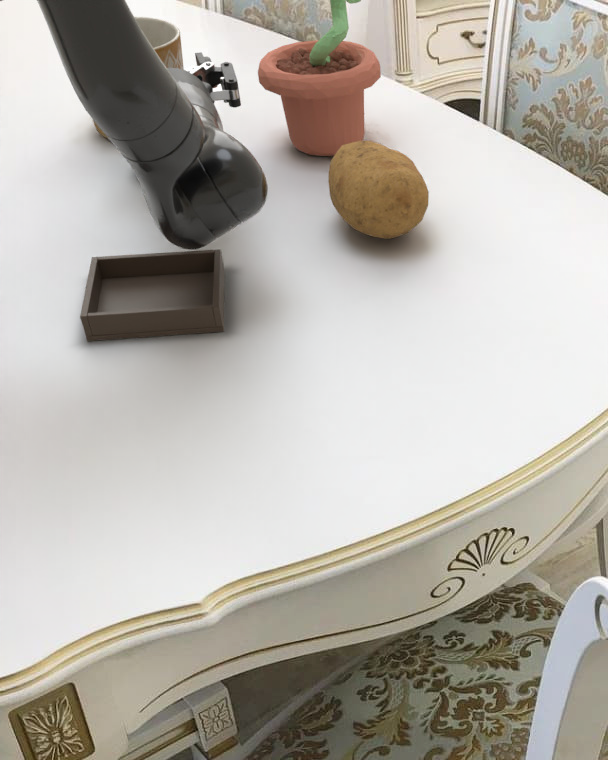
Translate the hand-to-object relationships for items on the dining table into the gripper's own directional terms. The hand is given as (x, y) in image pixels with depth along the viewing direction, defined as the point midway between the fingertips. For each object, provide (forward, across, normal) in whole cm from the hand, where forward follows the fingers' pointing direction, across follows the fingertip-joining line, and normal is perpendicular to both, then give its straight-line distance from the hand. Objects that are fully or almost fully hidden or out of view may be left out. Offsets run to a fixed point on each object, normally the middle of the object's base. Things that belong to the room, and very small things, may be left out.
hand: (159, 66), depth 119 cm
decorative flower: (+1, -18, +11) cm, 21 cm away
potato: (-22, -18, +11) cm, 30 cm away
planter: (+12, +3, +11) cm, 16 cm away
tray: (-31, +6, +11) cm, 33 cm away
